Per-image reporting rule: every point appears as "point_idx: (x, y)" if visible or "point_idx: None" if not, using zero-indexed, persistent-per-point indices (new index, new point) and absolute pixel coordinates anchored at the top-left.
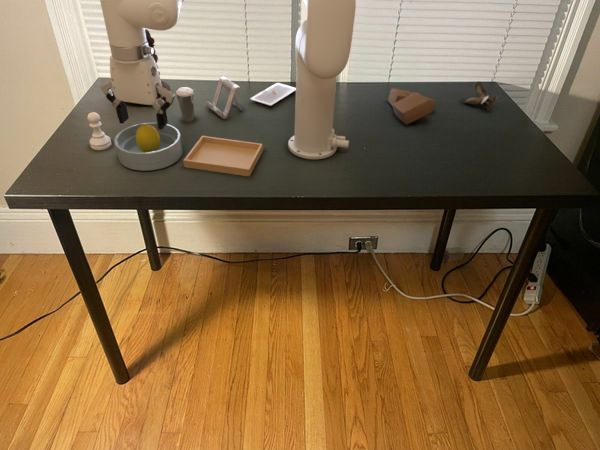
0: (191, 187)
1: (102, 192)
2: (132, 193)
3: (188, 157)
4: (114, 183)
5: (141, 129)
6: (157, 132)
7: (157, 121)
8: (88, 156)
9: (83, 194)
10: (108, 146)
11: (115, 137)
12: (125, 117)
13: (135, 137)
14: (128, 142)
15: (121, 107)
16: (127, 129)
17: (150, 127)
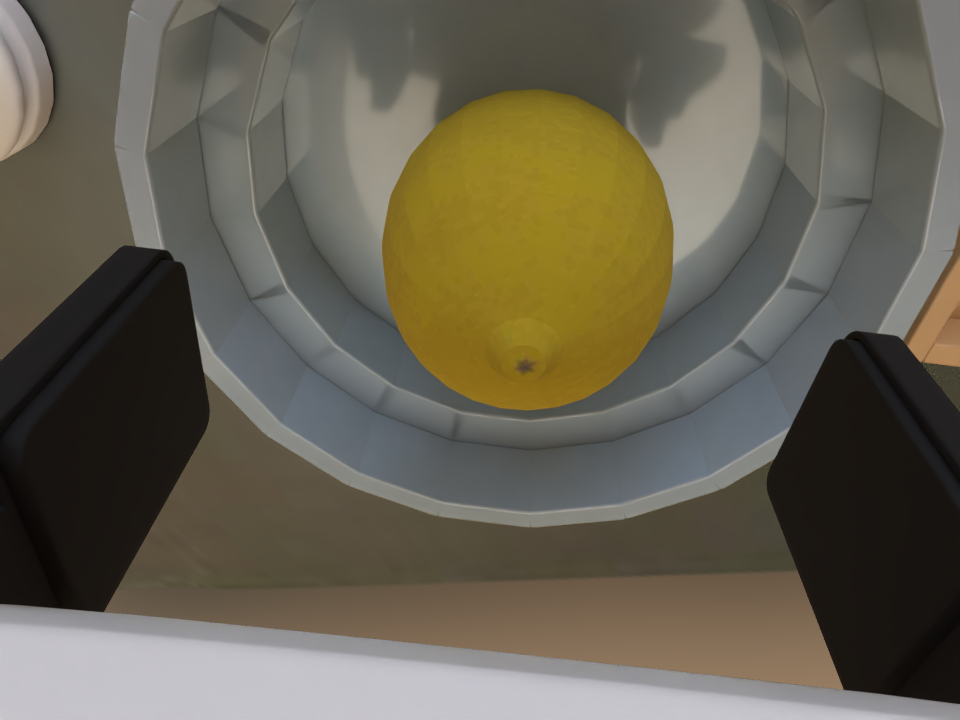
0: None
1: (380, 570)
2: (548, 570)
3: (953, 300)
4: (404, 508)
5: (487, 395)
6: (668, 262)
7: (807, 584)
8: (5, 249)
9: (294, 585)
10: (46, 96)
11: None
12: (174, 374)
13: (280, 27)
14: (257, 138)
15: (76, 590)
16: (161, 78)
17: (600, 348)
